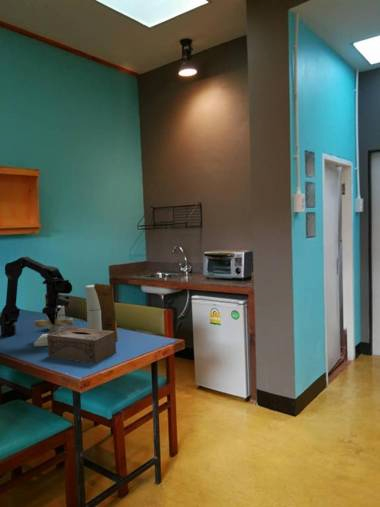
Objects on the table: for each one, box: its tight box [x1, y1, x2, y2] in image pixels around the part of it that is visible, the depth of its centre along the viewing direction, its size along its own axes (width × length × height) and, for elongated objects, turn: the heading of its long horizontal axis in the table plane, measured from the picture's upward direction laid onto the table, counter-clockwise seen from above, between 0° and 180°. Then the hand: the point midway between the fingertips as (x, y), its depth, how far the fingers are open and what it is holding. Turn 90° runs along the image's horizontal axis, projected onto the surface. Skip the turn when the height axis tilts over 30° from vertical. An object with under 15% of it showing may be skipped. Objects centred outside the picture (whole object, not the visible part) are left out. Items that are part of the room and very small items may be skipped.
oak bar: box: [34, 317, 74, 328], centre depth 200 cm, size 18×3×3 cm, turn 96°
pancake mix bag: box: [93, 282, 119, 342], centre depth 200 cm, size 7×19×28 cm, turn 33°
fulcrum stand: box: [33, 326, 62, 347], centre depth 200 cm, size 16×16×8 cm
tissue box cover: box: [47, 326, 117, 364], centre depth 177 cm, size 26×14×10 cm, turn 66°
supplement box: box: [45, 306, 66, 330], centre depth 224 cm, size 7×7×13 cm
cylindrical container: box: [85, 284, 102, 330], centre depth 213 cm, size 7×7×25 cm
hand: (54, 323), depth 200 cm, fingers closed on oak bar, 3 cm apart
